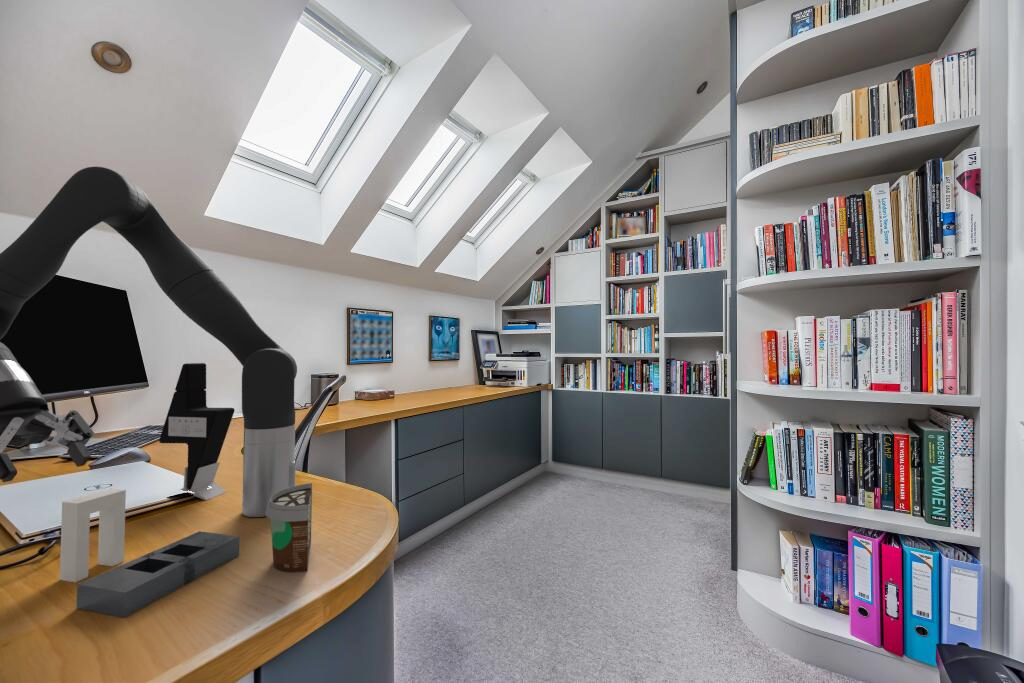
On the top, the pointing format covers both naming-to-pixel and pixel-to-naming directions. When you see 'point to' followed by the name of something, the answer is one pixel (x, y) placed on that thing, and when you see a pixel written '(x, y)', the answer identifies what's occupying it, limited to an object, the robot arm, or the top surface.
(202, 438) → the award
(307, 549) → the food container
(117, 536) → the grey arch-shaped block
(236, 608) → the top surface
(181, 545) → the grey slotted base block
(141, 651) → the top surface
